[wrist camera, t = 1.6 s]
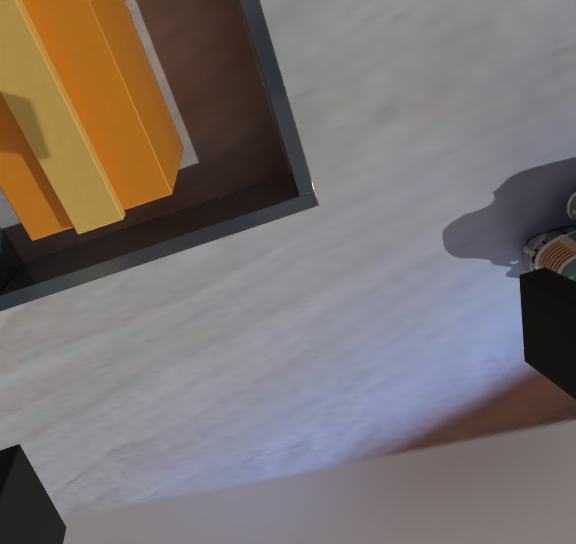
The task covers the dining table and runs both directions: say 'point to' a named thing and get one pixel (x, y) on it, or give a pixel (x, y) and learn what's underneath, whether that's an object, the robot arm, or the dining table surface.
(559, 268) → the hoverbike
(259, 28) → the rectangular frame
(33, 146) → the orange striped block
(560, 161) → the dining table surface
